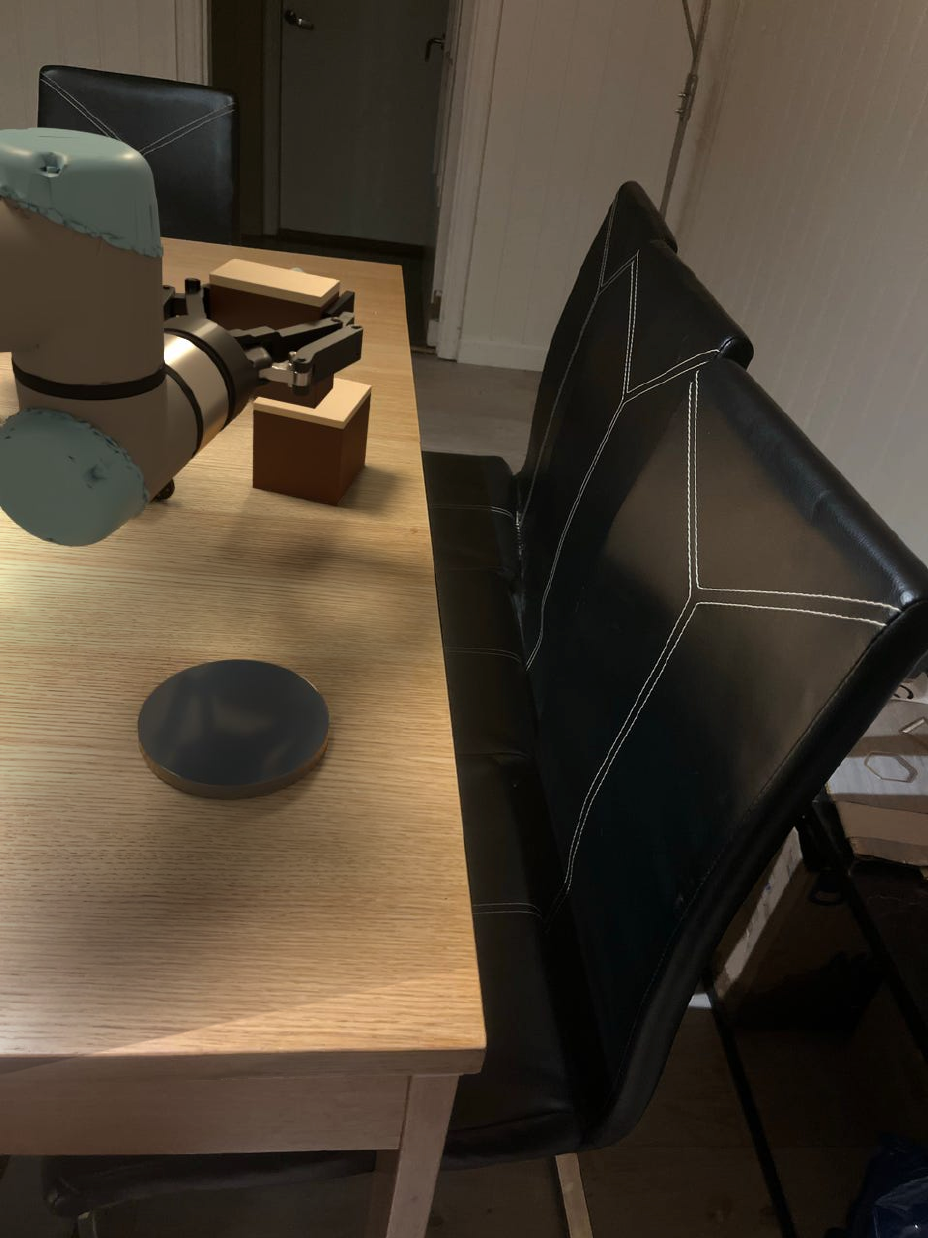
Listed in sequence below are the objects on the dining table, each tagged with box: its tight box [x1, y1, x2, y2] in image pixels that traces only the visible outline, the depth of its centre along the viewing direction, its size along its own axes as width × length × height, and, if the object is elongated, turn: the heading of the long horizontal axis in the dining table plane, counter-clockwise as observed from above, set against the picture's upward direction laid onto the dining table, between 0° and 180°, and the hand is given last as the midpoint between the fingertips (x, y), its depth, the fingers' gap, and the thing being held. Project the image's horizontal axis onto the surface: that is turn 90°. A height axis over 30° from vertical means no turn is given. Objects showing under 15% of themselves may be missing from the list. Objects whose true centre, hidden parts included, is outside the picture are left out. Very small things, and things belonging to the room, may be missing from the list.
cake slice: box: [208, 258, 341, 409], centre depth 74 cm, size 5×9×9 cm, turn 79°
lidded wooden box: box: [252, 377, 373, 507], centre depth 93 cm, size 10×9×9 cm
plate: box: [136, 658, 331, 800], centre depth 64 cm, size 13×13×1 cm
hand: (294, 295), depth 77 cm, fingers closed on cake slice, 9 cm apart
